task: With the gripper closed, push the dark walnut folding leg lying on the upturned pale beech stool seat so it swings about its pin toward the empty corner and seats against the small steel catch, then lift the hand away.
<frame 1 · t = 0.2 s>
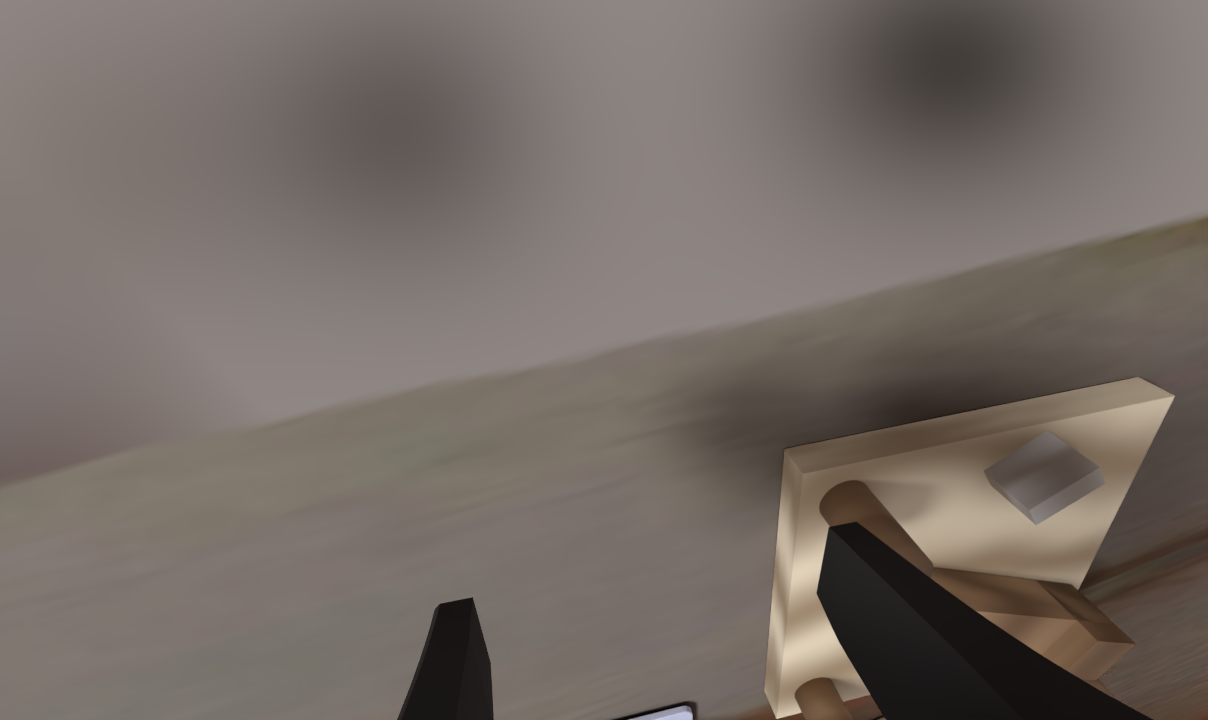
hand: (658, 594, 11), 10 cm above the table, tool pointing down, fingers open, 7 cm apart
folding leg: (988, 622, 27), point 3 cm above the table, hinge at -57.0°
stool seat: (928, 552, 30), on the table
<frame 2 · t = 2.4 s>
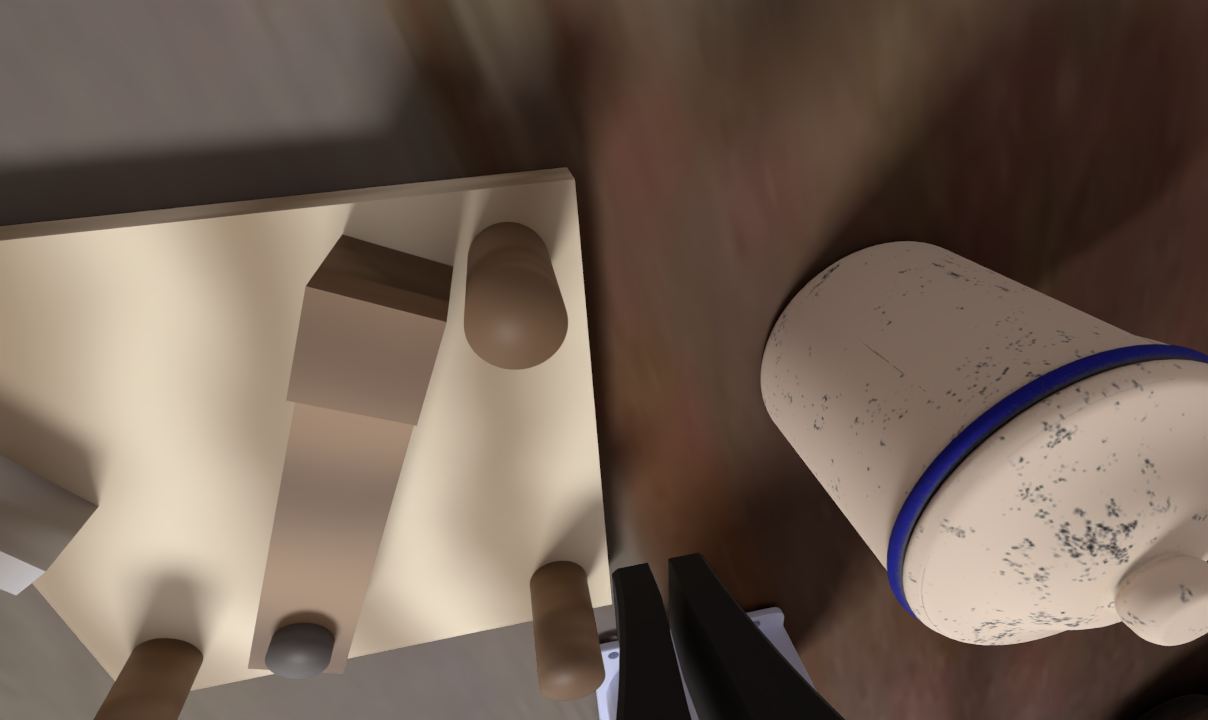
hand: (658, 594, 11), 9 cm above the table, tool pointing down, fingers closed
folding leg: (338, 495, 16), point 3 cm above the table, hinge at -57.0°
cooking pot: (1160, 717, 45), on the table
teacup with lid: (897, 337, 22), on the table
stool seat: (327, 454, 19), on the table
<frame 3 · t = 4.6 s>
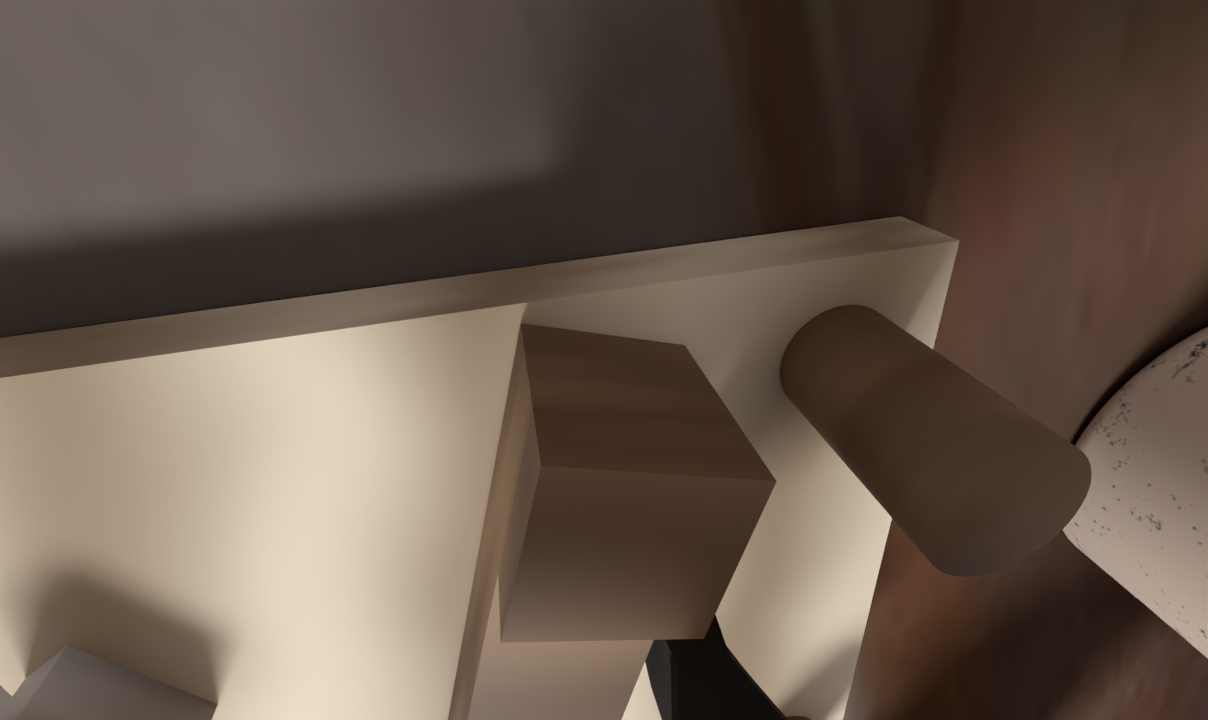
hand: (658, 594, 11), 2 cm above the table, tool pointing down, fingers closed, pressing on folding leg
folding leg: (539, 699, 11), point 3 cm above the table, hinge at -49.5°, touching gripper
stool seat: (507, 598, 14), on the table
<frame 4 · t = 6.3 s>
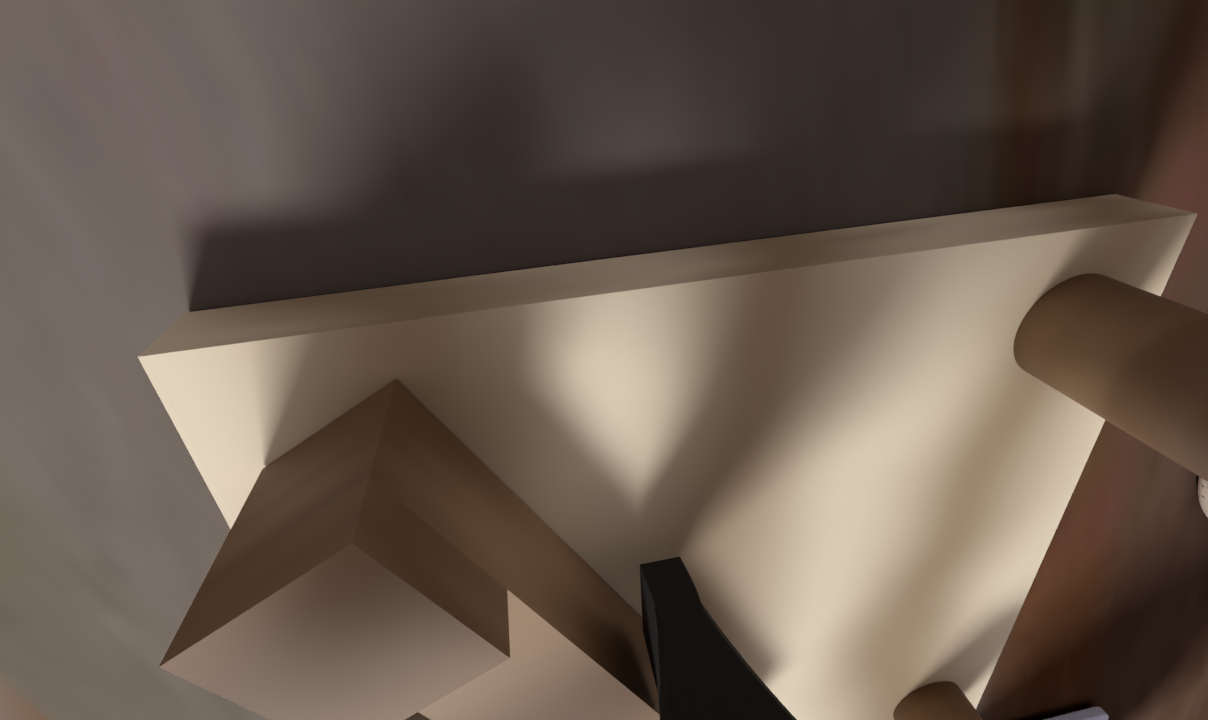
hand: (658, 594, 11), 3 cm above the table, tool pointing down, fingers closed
folding leg: (574, 701, 11), point 3 cm above the table, hinge at -3.7°, touching gripper
stool seat: (694, 560, 15), on the table
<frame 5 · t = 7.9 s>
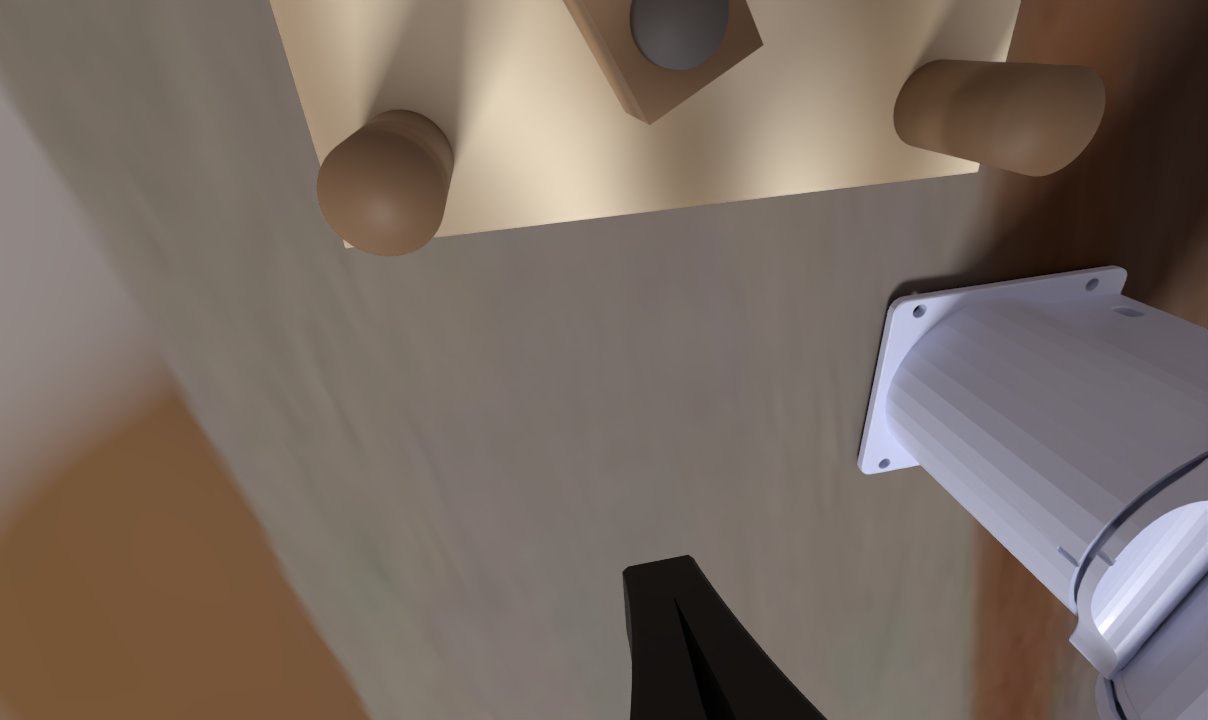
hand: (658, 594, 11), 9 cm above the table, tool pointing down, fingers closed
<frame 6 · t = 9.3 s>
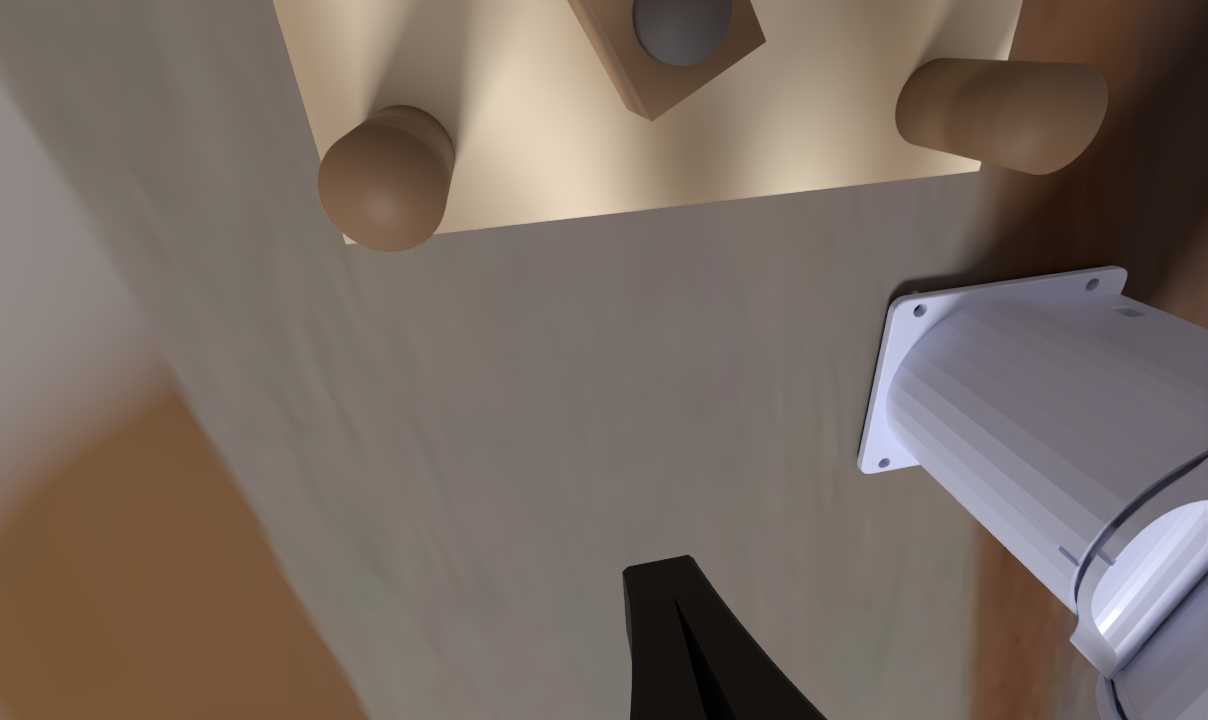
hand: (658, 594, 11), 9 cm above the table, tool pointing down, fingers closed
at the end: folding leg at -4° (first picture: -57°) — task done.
